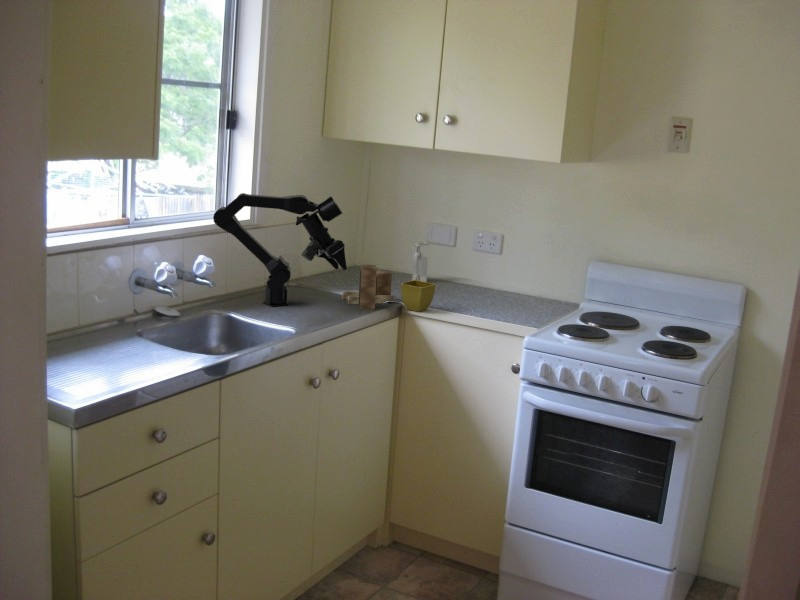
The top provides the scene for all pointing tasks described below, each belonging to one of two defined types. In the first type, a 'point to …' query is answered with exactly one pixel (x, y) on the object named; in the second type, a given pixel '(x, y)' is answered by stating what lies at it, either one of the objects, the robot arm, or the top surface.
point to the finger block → (367, 286)
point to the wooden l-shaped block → (381, 289)
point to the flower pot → (417, 294)
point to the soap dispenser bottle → (420, 260)
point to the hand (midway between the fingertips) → (341, 269)
